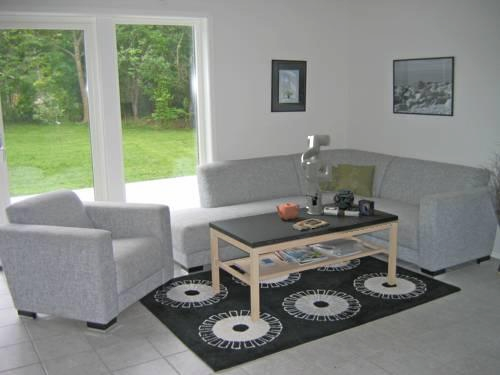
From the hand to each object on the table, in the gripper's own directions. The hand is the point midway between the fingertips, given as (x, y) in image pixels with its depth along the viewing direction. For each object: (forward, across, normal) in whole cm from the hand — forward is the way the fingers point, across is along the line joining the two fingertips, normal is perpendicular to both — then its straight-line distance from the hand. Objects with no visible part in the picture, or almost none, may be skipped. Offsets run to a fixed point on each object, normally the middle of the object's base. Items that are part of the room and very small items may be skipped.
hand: (312, 204), depth 370 cm
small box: (+15, +9, +47) cm, 50 cm away
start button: (+14, +2, -13) cm, 19 cm away
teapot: (+15, -23, -3) cm, 28 cm away
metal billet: (+1, 0, 0) cm, 1 cm away
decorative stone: (+15, -15, +49) cm, 53 cm away
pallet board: (+15, 0, 0) cm, 15 cm away
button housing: (+15, +2, -13) cm, 20 cm away
